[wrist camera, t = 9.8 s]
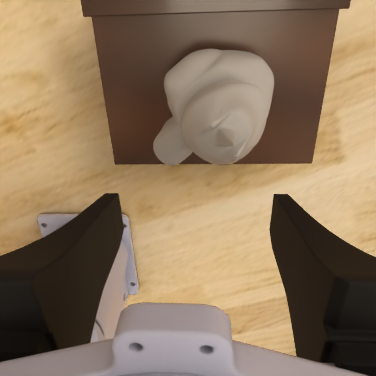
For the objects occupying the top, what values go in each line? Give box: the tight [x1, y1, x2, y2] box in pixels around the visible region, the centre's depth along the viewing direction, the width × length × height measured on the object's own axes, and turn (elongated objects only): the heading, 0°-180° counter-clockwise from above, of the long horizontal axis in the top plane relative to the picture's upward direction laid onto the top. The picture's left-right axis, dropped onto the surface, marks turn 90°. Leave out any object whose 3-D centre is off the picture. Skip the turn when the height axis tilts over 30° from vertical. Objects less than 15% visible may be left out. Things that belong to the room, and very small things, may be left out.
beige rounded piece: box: [153, 49, 274, 166], centre depth 15 cm, size 5×7×8 cm
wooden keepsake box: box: [81, 0, 351, 164], centre depth 19 cm, size 9×12×6 cm
